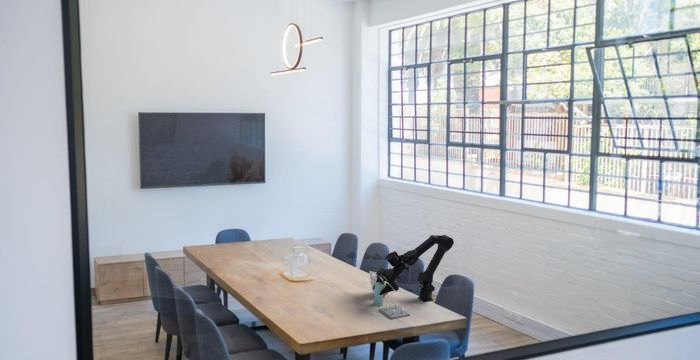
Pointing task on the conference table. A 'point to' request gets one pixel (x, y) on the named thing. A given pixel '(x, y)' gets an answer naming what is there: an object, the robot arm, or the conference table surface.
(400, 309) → the pin board
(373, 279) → the ink cartridge box
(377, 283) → the rounded cone
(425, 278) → the robot arm
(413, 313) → the conference table surface
